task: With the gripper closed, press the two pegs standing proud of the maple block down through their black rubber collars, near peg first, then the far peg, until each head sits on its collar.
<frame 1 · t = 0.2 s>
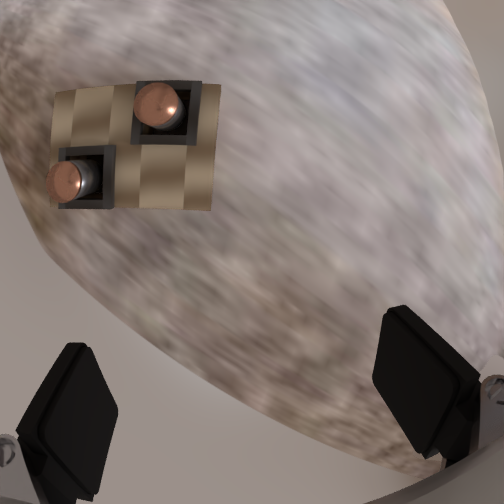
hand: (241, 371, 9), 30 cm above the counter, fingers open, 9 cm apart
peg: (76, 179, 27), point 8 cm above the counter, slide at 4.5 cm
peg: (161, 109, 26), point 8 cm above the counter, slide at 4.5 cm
maple block: (136, 146, 34), on the counter
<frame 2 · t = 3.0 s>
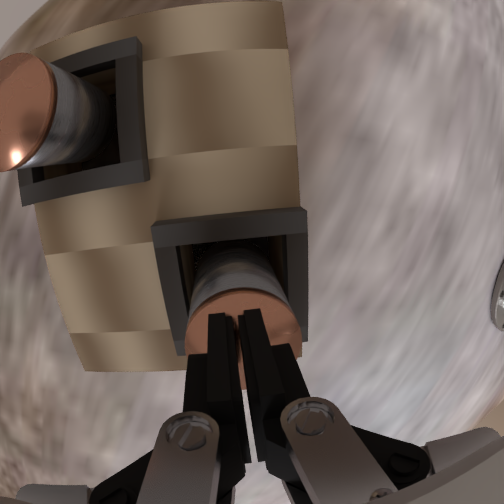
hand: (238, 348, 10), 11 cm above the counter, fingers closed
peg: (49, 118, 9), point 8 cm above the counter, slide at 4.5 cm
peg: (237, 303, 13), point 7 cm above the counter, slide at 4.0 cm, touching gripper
maple block: (169, 189, 18), on the counter
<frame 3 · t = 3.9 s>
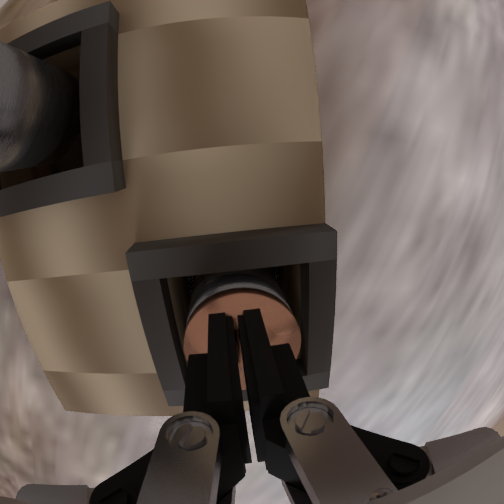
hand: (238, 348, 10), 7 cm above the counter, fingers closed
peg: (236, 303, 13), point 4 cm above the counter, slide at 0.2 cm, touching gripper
maple block: (156, 197, 15), on the counter
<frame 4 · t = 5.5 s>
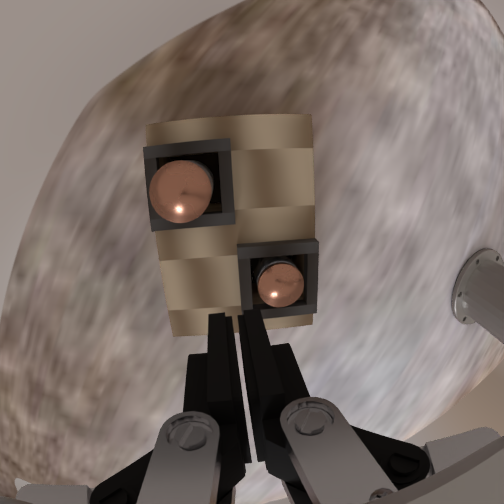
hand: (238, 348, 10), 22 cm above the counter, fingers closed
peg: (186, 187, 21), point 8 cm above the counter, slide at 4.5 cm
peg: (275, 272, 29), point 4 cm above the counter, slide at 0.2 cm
maple block: (233, 221, 31), on the counter
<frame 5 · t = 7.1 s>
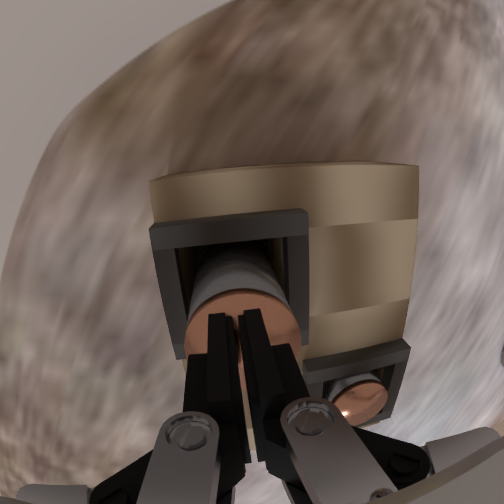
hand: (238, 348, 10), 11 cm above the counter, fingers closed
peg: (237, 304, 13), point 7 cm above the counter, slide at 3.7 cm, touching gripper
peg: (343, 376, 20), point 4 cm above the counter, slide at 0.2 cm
maple block: (285, 307, 21), on the counter
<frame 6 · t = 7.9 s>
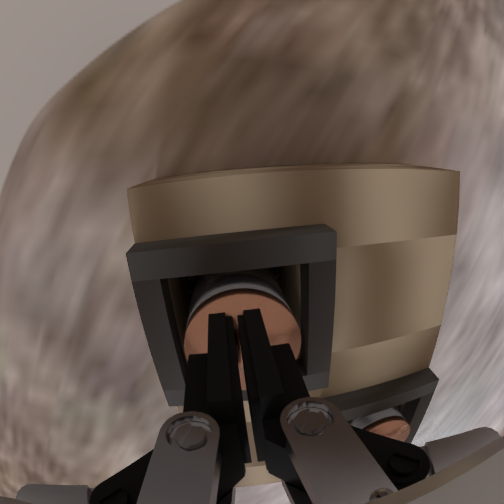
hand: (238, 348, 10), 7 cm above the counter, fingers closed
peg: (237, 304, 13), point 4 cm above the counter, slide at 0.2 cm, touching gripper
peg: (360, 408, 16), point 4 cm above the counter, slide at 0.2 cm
maple block: (296, 332, 18), on the counter
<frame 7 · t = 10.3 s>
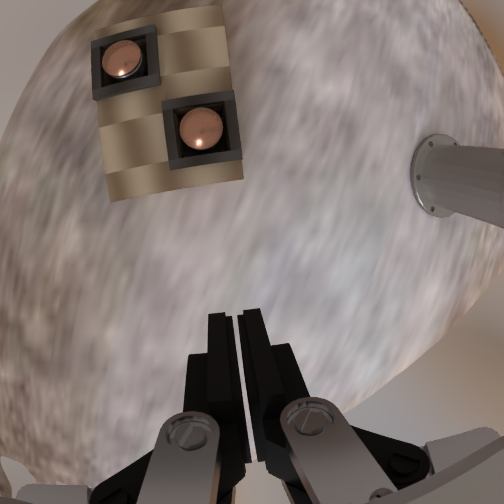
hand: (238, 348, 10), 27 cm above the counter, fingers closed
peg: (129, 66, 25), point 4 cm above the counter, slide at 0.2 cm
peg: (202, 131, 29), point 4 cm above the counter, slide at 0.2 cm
maple block: (168, 102, 30), on the counter
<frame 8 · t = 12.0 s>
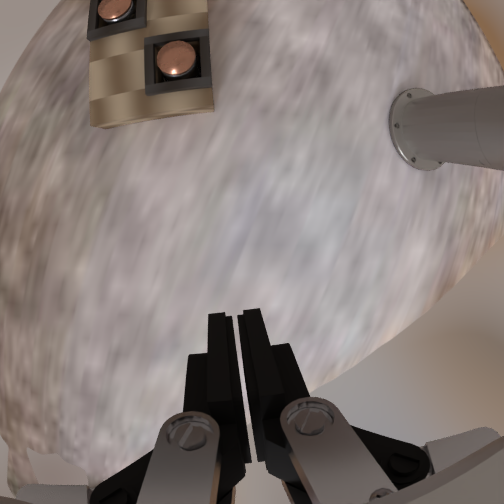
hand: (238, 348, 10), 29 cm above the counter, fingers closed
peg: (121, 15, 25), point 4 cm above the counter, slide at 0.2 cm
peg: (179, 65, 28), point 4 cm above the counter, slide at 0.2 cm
maple block: (154, 48, 30), on the counter
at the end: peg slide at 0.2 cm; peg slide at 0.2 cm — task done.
